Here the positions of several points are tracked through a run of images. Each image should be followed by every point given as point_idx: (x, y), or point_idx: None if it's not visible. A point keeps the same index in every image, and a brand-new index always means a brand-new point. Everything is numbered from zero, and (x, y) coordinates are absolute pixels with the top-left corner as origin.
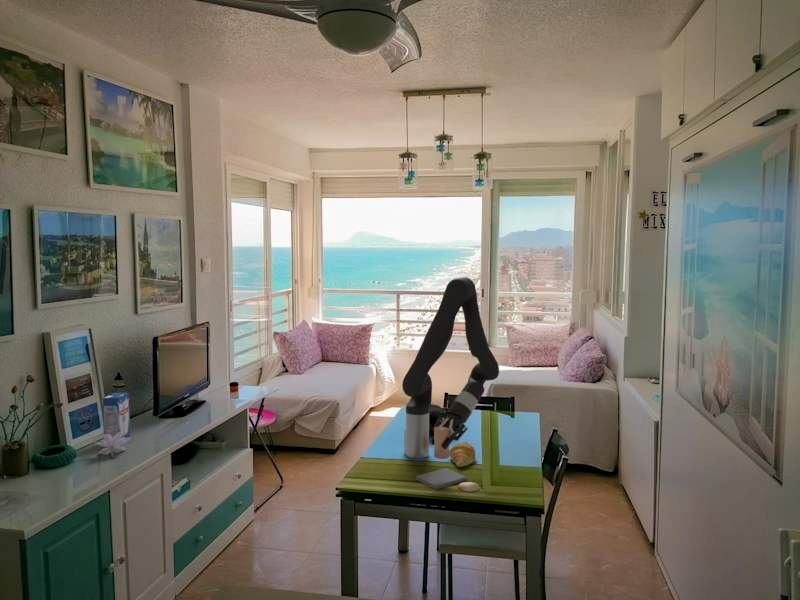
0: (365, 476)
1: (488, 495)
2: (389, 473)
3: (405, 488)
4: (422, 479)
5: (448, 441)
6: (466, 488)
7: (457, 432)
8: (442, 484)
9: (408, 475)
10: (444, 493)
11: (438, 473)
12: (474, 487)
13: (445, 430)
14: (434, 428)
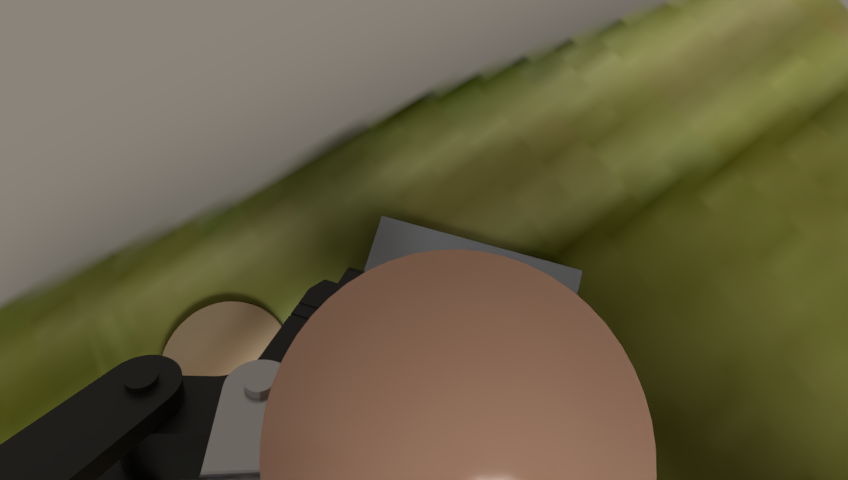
0: (845, 129)
1: (82, 332)
2: (780, 258)
3: (532, 129)
4: (512, 251)
5: (278, 339)
6: (220, 319)
7: (6, 442)
8: (366, 265)
9: (662, 306)
10: (313, 202)
11: None
12: (183, 365)
13: (289, 350)
14: (598, 324)
